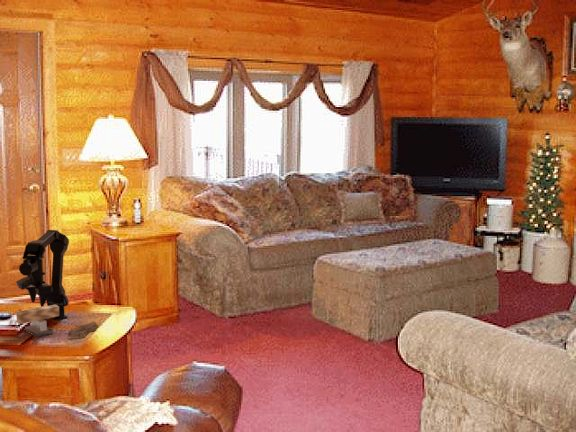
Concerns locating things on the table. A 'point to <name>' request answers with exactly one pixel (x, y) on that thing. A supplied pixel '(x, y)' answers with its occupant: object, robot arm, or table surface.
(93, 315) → the table surface
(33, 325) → the balance ridge
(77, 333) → the wooden fragment
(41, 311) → the birch rod
